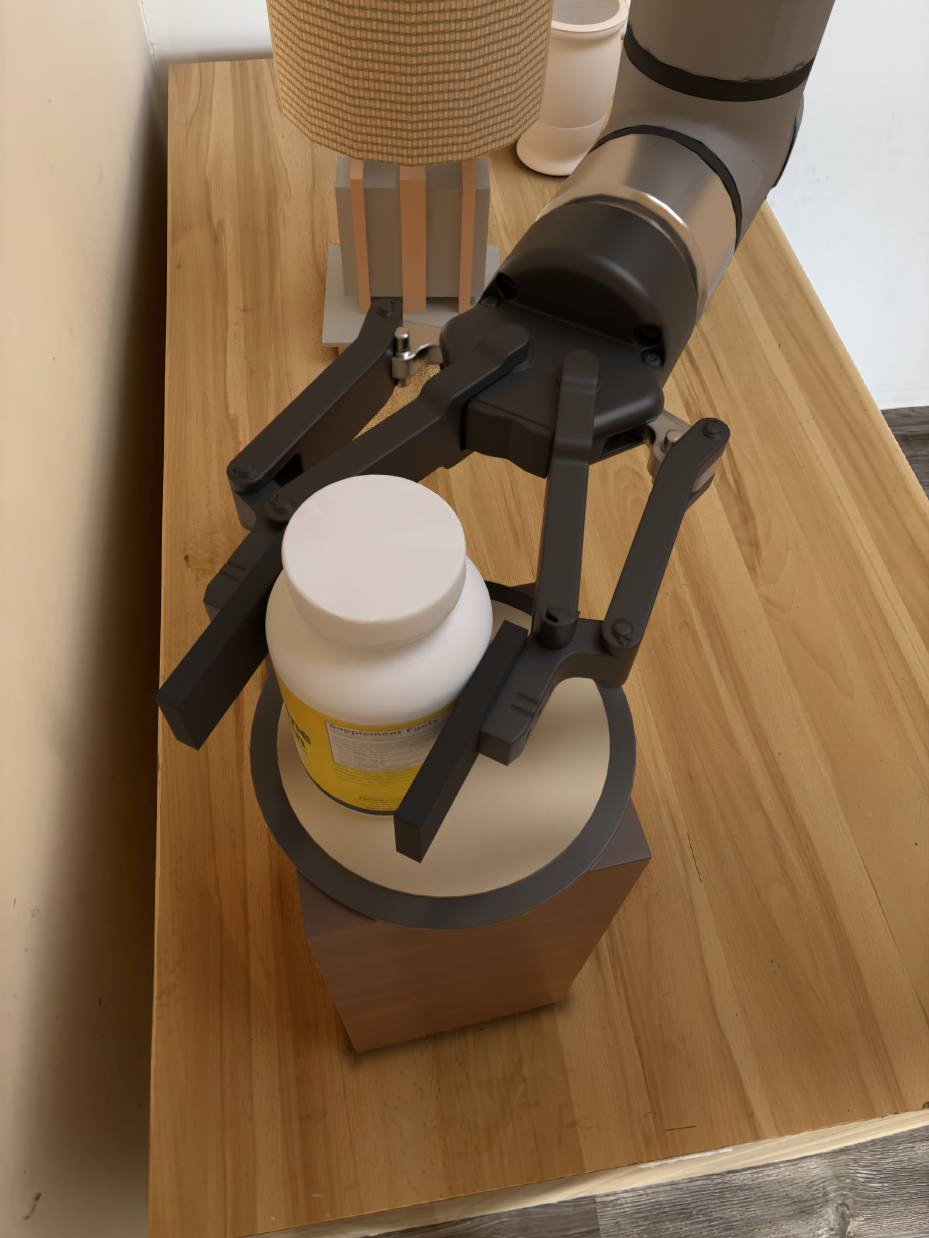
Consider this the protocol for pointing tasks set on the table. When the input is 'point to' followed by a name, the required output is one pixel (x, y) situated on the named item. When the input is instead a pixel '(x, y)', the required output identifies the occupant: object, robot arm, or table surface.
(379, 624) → the pill bottle
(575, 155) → the jar
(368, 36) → the desk lamp
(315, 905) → the tall brown block
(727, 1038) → the table surface
